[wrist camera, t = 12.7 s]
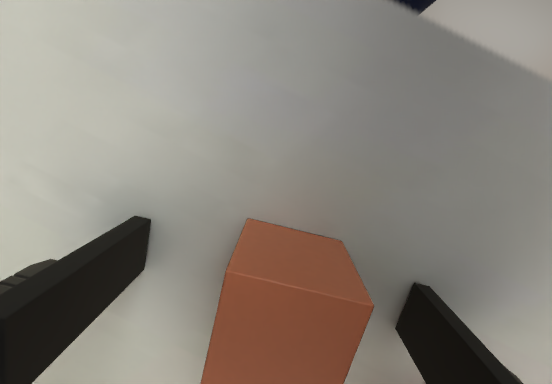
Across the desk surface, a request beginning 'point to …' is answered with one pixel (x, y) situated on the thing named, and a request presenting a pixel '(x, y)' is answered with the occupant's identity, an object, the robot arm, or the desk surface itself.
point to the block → (287, 310)
